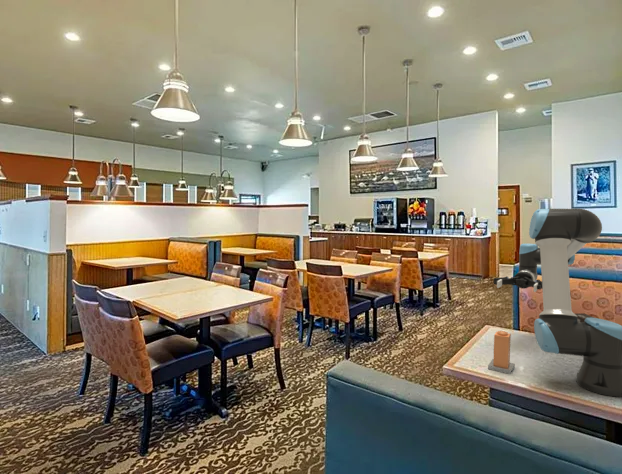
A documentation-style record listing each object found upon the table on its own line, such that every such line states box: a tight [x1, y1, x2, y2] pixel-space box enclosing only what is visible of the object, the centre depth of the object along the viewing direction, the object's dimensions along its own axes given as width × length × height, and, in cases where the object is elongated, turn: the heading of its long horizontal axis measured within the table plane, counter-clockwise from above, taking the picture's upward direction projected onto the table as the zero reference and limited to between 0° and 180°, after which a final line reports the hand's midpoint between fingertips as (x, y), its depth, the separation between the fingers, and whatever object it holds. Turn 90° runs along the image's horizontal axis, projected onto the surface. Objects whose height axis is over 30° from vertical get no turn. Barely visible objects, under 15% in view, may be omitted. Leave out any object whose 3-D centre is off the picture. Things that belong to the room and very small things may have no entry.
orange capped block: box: [493, 330, 512, 368], centre depth 147 cm, size 5×5×13 cm
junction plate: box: [487, 358, 516, 375], centre depth 148 cm, size 8×8×7 cm
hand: (515, 286), depth 157 cm, fingers open, 13 cm apart
